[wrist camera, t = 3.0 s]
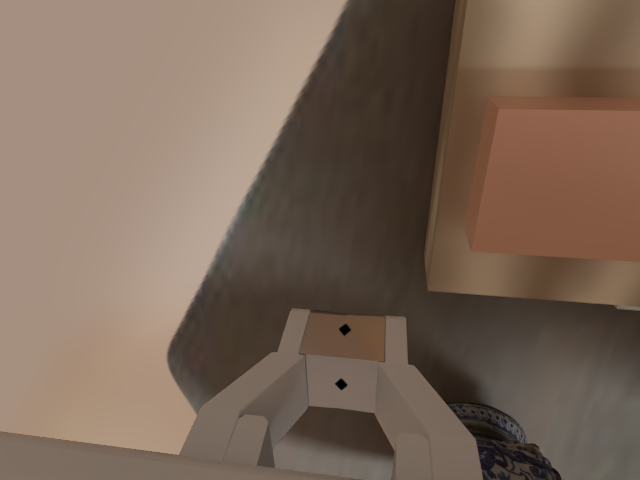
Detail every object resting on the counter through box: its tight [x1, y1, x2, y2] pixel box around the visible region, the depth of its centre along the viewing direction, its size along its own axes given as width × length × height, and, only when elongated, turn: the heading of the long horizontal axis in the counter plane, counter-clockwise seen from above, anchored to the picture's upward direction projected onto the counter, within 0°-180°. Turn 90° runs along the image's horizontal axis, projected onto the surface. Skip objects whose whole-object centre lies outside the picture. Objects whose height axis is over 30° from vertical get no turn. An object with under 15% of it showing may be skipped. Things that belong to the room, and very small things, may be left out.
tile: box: [464, 96, 640, 262], centre depth 19 cm, size 9×7×2 cm
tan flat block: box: [424, 0, 640, 307], centre depth 22 cm, size 13×16×4 cm
